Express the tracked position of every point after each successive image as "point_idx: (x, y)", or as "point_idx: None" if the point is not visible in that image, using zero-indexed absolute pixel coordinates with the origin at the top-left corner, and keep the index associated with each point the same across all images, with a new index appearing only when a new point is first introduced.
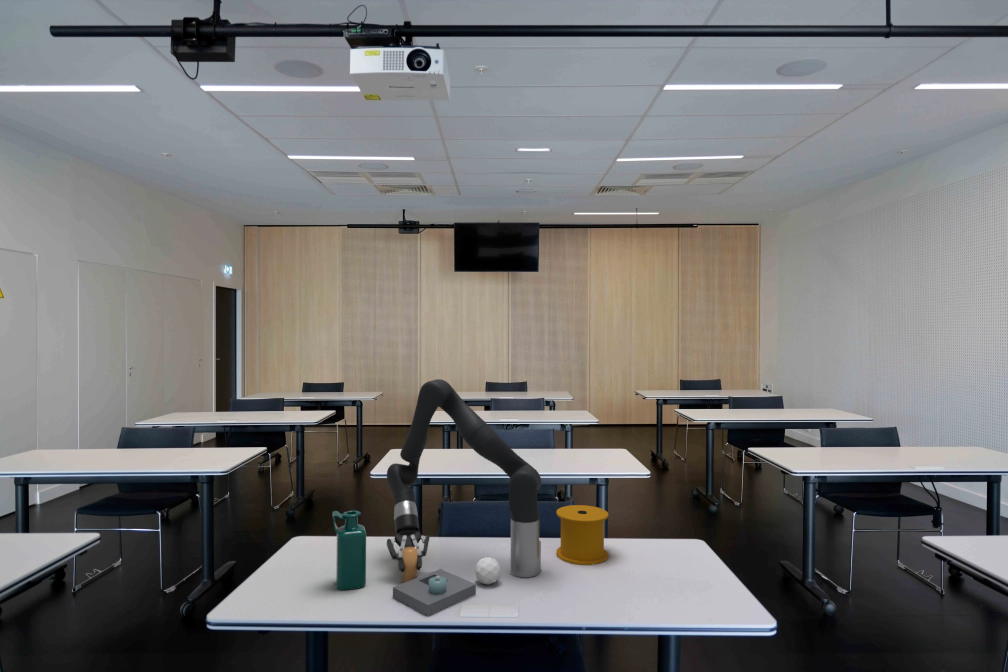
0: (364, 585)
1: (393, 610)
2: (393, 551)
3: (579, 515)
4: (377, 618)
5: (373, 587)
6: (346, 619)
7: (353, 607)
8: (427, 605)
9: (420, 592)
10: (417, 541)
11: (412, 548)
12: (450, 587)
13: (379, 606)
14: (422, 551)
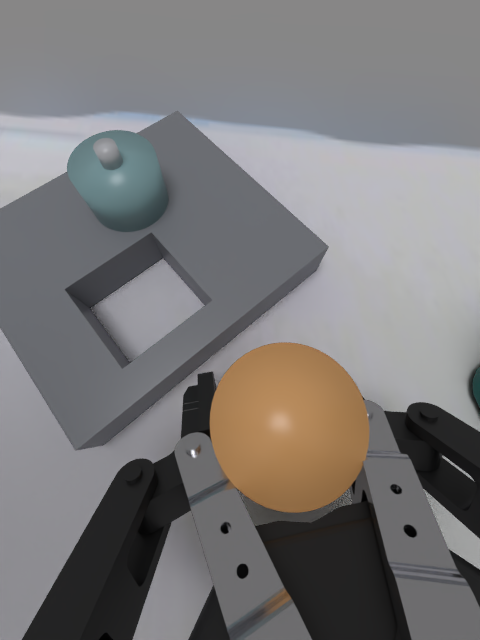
0: (473, 379)
1: (297, 187)
2: (457, 434)
3: None
4: (338, 150)
5: (423, 371)
6: (431, 154)
7: (440, 216)
8: (180, 115)
9: (203, 191)
10: (203, 621)
11: (264, 441)
12: (70, 220)
13: (350, 214)
14: (161, 486)
